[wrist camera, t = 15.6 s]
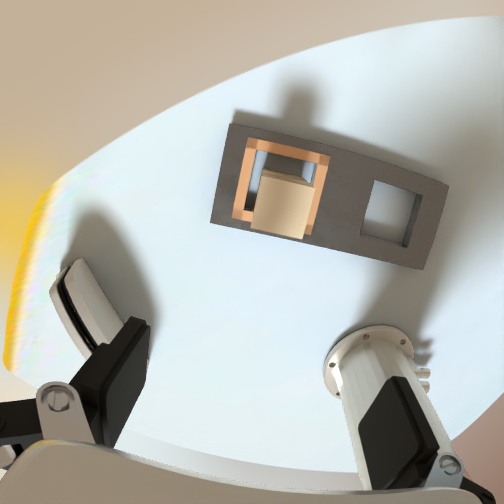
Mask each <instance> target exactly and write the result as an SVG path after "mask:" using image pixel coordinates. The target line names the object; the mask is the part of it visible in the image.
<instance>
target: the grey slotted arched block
mask: <svg viewBox="0 0 504 504" xmlns="http://www.w3.org/2000/svg"><path fill="white" fill-rule="evenodd" d="M56 278H57V279H56V280H55V282H54V283H53V285H52V287H51V288H50V290H49V294H50V297H51V300H52V302H53V304H54V307H55V309H56V311H57V313H58V315H59V317H60V319H61V321H62V323H63V325H64V327H65V329H66V330H67V332H68V334H69V336H70V337H71V339H72V340H73V342H74V344H75V345H76V347H77V348H78V349H79V351H80V352H81V354H82V355H83V356H84V358H85V359H86V360H88V358H89V357H90V356H91V355H92V353H93V352H94V351H95V350H96V348H97V347H98V346H99V345H100V344H101V343H103V342H104V343H107V344H110V342H111V341H112V340H113V338H114V337H115V336H116V335H117V333H118V332H119V331H120V329H121V328H122V327H123V326H124V324H123V322H122V321H121V319H120V318H119V316H118V315H117V313H116V312H115V310H114V309H113V307H112V305H111V304H110V302H109V301H108V299H107V297H106V296H105V294H104V292H103V291H102V289H101V287H100V286H99V284H98V282H97V281H96V279H95V277H94V276H93V274H92V272H91V270H90V269H89V267H88V265H87V263H86V262H85V260H84V258H80V259H77V260H75V262H74V263H73V265H72V267H71V266H70V267H68V265H67V266H66V267H65V268H64V269H63V270H62V271H61V272H60V273H59V274H58V275H57V276H56ZM148 365H149V360H148V358H147V369H148ZM146 373H147V371H146Z"/></svg>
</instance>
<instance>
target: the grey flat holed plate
mask: <svg viewBox="0 0 504 504" xmlns="http://www.w3.org/2000/svg"><path fill="white" fill-rule="evenodd" d="M256 150H261V151H266V152H270V153H275V154H279V155H284V156H288V157H292V158H296V159H301V160H305V161H309V162H313V163H315V167H314V171H313V175H312V179H311V183H310V184H311V185H312V186H313V187H314V188H315V192H314V196H313V200H312V204H311V208H310V212H309V216H308V220H307V223H306V227H305V231H304V235H303V238H302V239H298V238H293V237H289V236H285V235H280V234H276V233H271V232H266V231H262V230H257V229H253V228H251V222H252V217H253V212H254V209H252V208H247V207H245V202H246V197H247V193H248V188H249V183H250V178H251V174H252V169H253V164H254V160H255V155H256ZM374 180H377V181H381V182H384V183H387V184H390V185H393V186H396V187H399V188H403V189H406V190H409V191H412V192H414V193H417V196H416V200H415V203H414V207H413V211H412V214H411V217H410V221H409V224H408V227H407V231H406V234H405V237H404V240H403V243H402V244H399V243H395V242H392V241H388V240H384V239H380V238H376V237H372V236H368V235H364V234H360V230H361V227H362V224H363V220H364V217H365V213H366V209H367V206H368V202H369V198H370V195H371V191H372V187H373V183H374ZM448 188H449V186H448V185H446V184H443V183H441V182H438V181H435V180H433V179H430V178H428V177H425V176H422V175H419V174H417V173H414V172H411V171H408V170H406V169H403V168H400V167H397V166H394V165H391V164H388V163H385V162H382V161H379V160H376V159H373V158H369V157H366V156H363V155H360V154H356V153H353V152H350V151H346V150H343V149H339V148H335V147H332V146H328V145H324V144H321V143H317V142H313V141H309V140H305V139H301V138H297V137H293V136H288V135H284V134H280V133H275V132H271V131H266V130H261V129H256V128H251V127H246V126H241V125H236V124H229V128H228V133H227V138H226V143H225V147H224V152H223V157H222V162H221V167H220V172H219V177H218V183H217V188H216V193H215V198H214V204H213V209H212V215H211V220H210V223H213V224H218V225H222V226H227V227H232V228H237V229H241V230H246V231H251V232H256V233H260V234H265V235H270V236H274V237H279V238H283V239H288V240H293V241H297V242H302V243H306V244H311V245H315V246H320V247H324V248H329V249H333V250H337V251H342V252H346V253H351V254H355V255H359V256H364V257H368V258H372V259H377V260H381V261H385V262H389V263H394V264H398V265H402V266H406V267H411V268H415V269H419V270H423V268H424V266H425V263H426V260H427V257H428V254H429V251H430V249H431V246H432V243H433V240H434V236H435V233H436V230H437V227H438V224H439V220H440V217H441V214H442V210H443V207H444V203H445V199H446V196H447V192H448Z"/></svg>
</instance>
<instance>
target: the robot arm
mask: <svg viewBox="0 0 504 504" xmlns="http://www.w3.org/2000/svg"><path fill="white" fill-rule="evenodd" d="M149 337H150V326H148V325H146V321H145V320H142V319H139V318H136V317H133V316H131V317H130V318H129V319H128V321H127V322H126V323H125V324H124V326H123V327H122V328H121V329H120V331H119V332H118V333H117V335H116V336H115V337H114V338H113V340H112V341H111V342H110V344H107V343H104V342H103V343H101V344H100V345H99V346H98V347H97V348H96V350H95V351H94V352H93V353H92V355H91V356H90V357H89V358H88V360H87V361H86V362H85V363H84V365H83V366H82V367H81V368H80V370H79V371H78V372H77V374H76V375H75V376H74V377H73V379H72V380H71V381H70V383H69V384H67V383H63V382H49V383H46V384H44V385H42V386H41V387H40V388H39V389H38V391H37V393H36V398H34V399H26V400H19V401H11V402H1V403H0V469H1V468H2V469H5V470H7V472H6V473H5V475H4V476H3V478H2V479H1V481H0V504H496V502H495V498H494V496H493V494H492V493H491V492H489V491H488V490H486V489H484V488H483V487H481V486H479V485H478V484H476V483H474V482H473V480H472V479H471V477H470V475H469V474H468V472H467V471H466V470H465V467H464V465H463V463H462V461H461V460H460V458H459V456H458V454H457V452H456V451H455V449H454V447H453V445H452V443H451V441H450V439H449V437H448V435H447V433H446V431H445V429H444V427H443V425H442V423H441V421H440V419H439V417H438V415H437V413H436V411H435V409H434V407H433V405H432V404H431V402H430V400H429V398H428V396H427V392H428V391H429V382H428V381H419V380H418V378H425V379H427V378H429V376H430V370H429V369H424V368H421V369H417V367H416V365H415V364H414V362H413V360H414V349H413V346H412V343H411V342H410V340H409V338H408V337H407V336H406V335H405V333H403V332H402V331H400V330H399V329H397V328H394V327H391V326H385V325H378V326H370V327H365V328H363V329H360V330H357V331H355V332H353V333H351V334H349V335H348V336H346V337H345V338H343V339H342V340H341V341H339V342H338V343H337V344H336V345H335V346H334V347H333V349H332V350H331V351H330V353H329V354H328V356H327V358H326V360H325V363H324V367H323V378H324V383H325V385H326V388H327V389H328V391H329V392H330V393H331V394H332V395H333V396H335V397H336V398H338V399H341V401H342V405H343V409H344V413H345V417H346V421H347V425H348V429H349V433H350V437H351V442H352V446H353V450H354V455H355V459H356V463H357V468H358V473H359V477H360V481H361V483H362V485H363V488H364V489H365V490H366V491H337V490H336V491H335V490H312V489H297V488H287V487H277V486H268V485H262V484H255V483H248V482H241V481H236V480H230V479H225V478H220V477H215V476H210V475H205V474H202V473H197V472H193V471H189V470H185V469H181V468H177V467H173V466H170V465H166V464H163V463H159V462H155V461H152V460H149V459H146V458H143V457H139V456H136V455H133V454H130V453H126V452H123V451H120V450H117V449H114V446H115V444H116V441H117V440H118V437H119V435H120V433H121V431H122V429H123V427H124V425H125V423H126V421H127V419H128V417H129V415H130V413H131V411H132V409H133V407H134V405H135V403H136V401H137V399H138V397H139V395H140V393H141V391H142V389H143V387H144V384H145V381H146V371H147V358H148V347H149Z"/></svg>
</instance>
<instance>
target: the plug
mask: <svg viewBox="0 0 504 504" xmlns="http://www.w3.org/2000/svg"><path fill="white" fill-rule="evenodd" d="M314 192H315V188H314V187H313V186H312V185H311V184H310V183H308V182H307V181H306V180H305V179H303V178H302V177H299V176H295V175H291V174H286V173H282V172H278V171H273V170H269V169H264V168H263V170H262V175H261V179H260V184H259V188H258V193H257V197H256V202H255V207H254V212H253V217H252V222H251V228H253V229H257V230H262V231H266V232H271V233H276V234H280V235H285V236H289V237H293V238H298V239H302V238H303V235H304V231H305V227H306V223H307V220H308V216H309V212H310V208H311V204H312V200H313V196H314Z"/></svg>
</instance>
